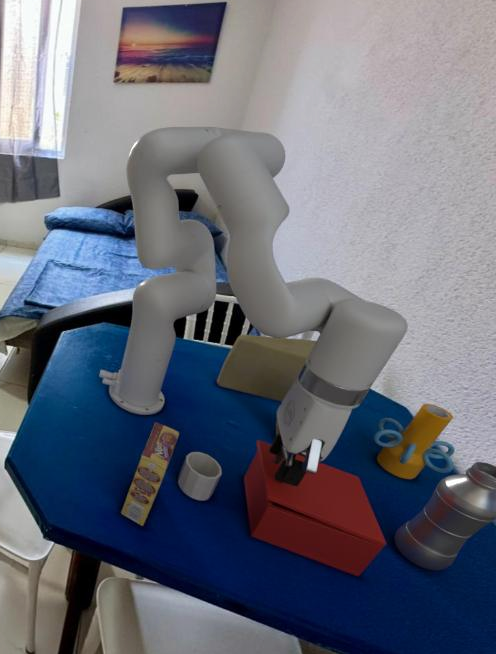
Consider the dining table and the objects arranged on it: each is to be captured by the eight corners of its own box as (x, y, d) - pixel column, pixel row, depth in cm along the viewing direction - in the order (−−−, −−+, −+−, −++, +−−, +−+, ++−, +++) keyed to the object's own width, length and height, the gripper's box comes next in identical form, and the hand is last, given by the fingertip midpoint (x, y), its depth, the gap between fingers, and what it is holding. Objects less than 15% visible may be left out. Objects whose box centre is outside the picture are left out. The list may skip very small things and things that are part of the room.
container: (177, 492, 75) (186, 471, 72) (178, 469, 80) (186, 447, 77) (212, 505, 73) (222, 483, 70) (211, 480, 77) (220, 458, 75)
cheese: (221, 396, 98) (241, 346, 91) (212, 372, 107) (230, 324, 99) (325, 416, 94) (355, 364, 86) (307, 389, 102) (334, 339, 95)
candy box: (145, 528, 69) (167, 467, 61) (120, 514, 71) (138, 454, 63) (158, 491, 75) (180, 431, 68) (135, 479, 77) (153, 420, 70)
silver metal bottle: (378, 536, 69) (445, 454, 59) (414, 534, 69) (487, 452, 60) (416, 577, 63) (498, 494, 53) (455, 574, 64) (543, 491, 54)
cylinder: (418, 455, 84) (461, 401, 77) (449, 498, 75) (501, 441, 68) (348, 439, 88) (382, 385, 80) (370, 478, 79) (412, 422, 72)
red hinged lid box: (251, 536, 68) (268, 506, 64) (243, 478, 78) (258, 449, 74) (358, 576, 63) (383, 547, 59) (335, 508, 73) (356, 480, 69)
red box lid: (265, 498, 64) (282, 477, 61) (256, 442, 74) (270, 421, 71) (383, 547, 59) (407, 525, 56) (356, 479, 69) (375, 459, 66)
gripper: (290, 345, 66) (251, 425, 75) (313, 412, 53) (262, 500, 62) (346, 358, 64) (299, 439, 73) (386, 432, 50) (321, 521, 59)
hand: (282, 466), depth 67 cm, fingers closed on red box lid, 5 cm apart
